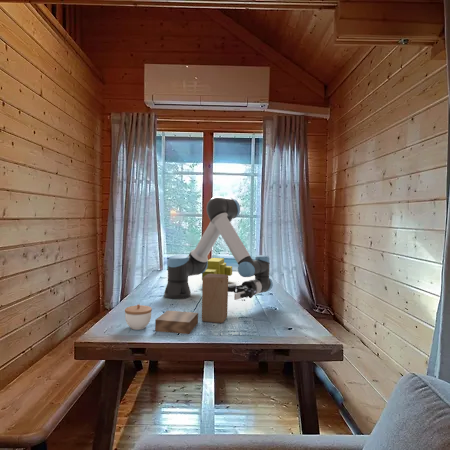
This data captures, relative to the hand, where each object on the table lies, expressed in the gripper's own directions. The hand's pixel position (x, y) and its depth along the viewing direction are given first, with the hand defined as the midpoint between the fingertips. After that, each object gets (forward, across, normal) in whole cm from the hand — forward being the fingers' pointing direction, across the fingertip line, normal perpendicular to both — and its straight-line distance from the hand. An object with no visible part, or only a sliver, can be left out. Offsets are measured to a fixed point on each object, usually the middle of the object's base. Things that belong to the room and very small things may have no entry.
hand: (223, 294), depth 157 cm
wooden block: (+5, +1, -11) cm, 12 cm away
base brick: (+24, +5, -11) cm, 27 cm away
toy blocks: (-59, +56, -11) cm, 82 cm away
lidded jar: (+35, +16, -11) cm, 40 cm away
